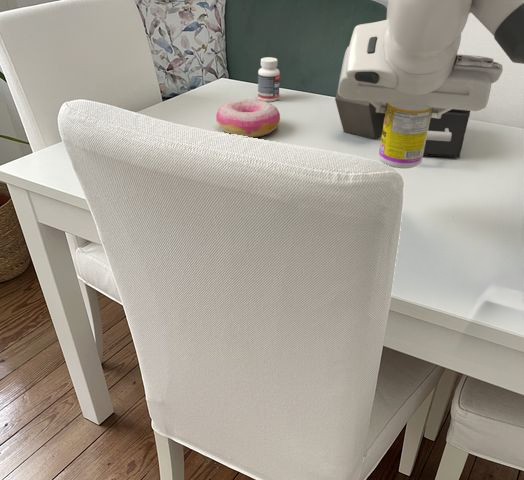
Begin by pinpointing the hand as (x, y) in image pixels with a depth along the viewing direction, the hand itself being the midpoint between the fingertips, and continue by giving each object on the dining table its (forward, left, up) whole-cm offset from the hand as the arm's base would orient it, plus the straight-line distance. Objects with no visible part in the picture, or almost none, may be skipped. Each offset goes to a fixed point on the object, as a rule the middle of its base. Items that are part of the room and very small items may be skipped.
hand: (408, 110), depth 84 cm
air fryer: (-7, -34, -17) cm, 39 cm away
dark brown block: (+5, -39, -17) cm, 43 cm away
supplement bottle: (0, +1, -8) cm, 8 cm away
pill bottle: (+30, -56, -17) cm, 66 cm away
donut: (+31, -34, -17) cm, 49 cm away
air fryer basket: (-7, -30, -16) cm, 35 cm away
